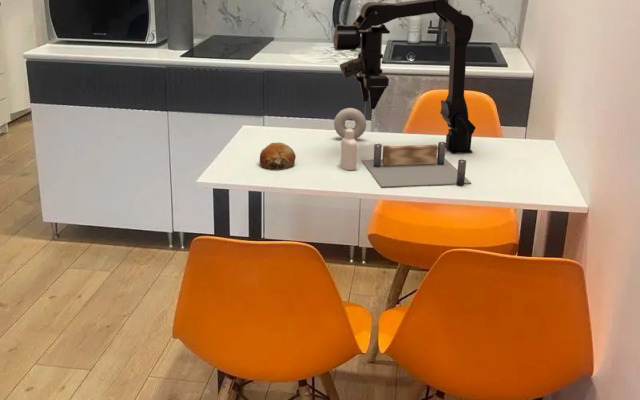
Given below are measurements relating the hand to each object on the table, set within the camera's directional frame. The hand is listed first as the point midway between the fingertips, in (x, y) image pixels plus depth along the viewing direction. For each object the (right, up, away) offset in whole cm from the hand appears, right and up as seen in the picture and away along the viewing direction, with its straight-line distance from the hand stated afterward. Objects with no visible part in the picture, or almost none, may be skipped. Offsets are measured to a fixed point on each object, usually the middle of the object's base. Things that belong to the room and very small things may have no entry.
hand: (368, 105), depth 204 cm
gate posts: (+12, -20, -12) cm, 27 cm away
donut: (-5, -8, +19) cm, 21 cm away
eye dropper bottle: (-6, -18, -7) cm, 20 cm away
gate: (+11, -17, -5) cm, 21 cm away
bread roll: (-26, -17, -5) cm, 32 cm away
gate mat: (+12, -19, -10) cm, 25 cm away
